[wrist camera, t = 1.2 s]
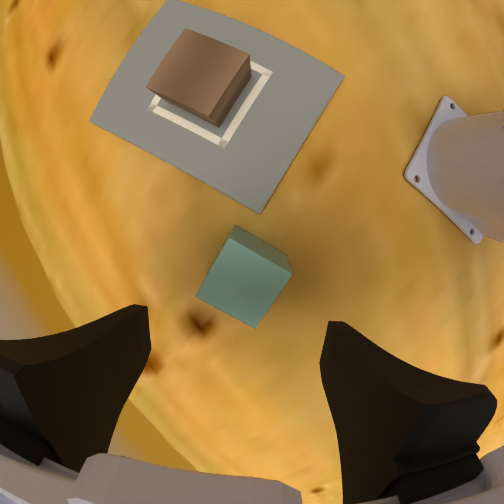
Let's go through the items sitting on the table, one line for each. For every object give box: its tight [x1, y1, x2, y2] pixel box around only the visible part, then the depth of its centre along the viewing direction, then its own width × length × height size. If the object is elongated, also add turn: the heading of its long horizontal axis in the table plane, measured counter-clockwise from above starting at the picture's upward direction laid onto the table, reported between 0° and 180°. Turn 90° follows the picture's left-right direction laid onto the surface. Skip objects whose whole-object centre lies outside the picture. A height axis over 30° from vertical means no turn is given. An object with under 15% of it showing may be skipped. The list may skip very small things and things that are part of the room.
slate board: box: [89, 0, 344, 214], centre depth 17 cm, size 14×11×1 cm
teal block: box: [196, 225, 292, 329], centre depth 18 cm, size 4×4×4 cm
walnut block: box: [146, 28, 251, 128], centre depth 15 cm, size 4×4×4 cm
